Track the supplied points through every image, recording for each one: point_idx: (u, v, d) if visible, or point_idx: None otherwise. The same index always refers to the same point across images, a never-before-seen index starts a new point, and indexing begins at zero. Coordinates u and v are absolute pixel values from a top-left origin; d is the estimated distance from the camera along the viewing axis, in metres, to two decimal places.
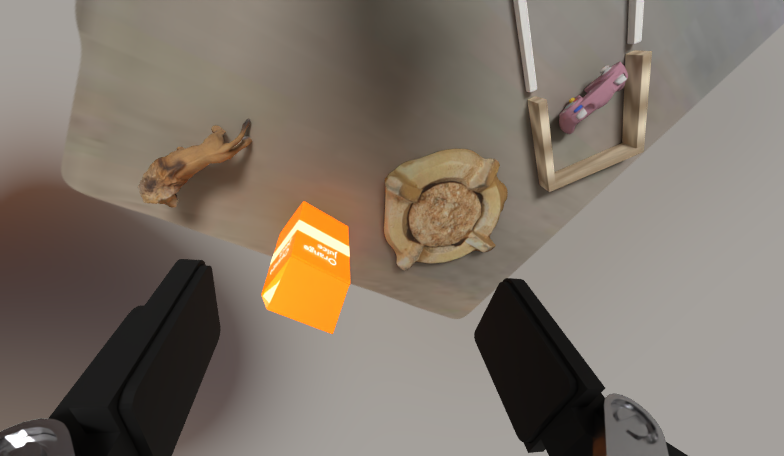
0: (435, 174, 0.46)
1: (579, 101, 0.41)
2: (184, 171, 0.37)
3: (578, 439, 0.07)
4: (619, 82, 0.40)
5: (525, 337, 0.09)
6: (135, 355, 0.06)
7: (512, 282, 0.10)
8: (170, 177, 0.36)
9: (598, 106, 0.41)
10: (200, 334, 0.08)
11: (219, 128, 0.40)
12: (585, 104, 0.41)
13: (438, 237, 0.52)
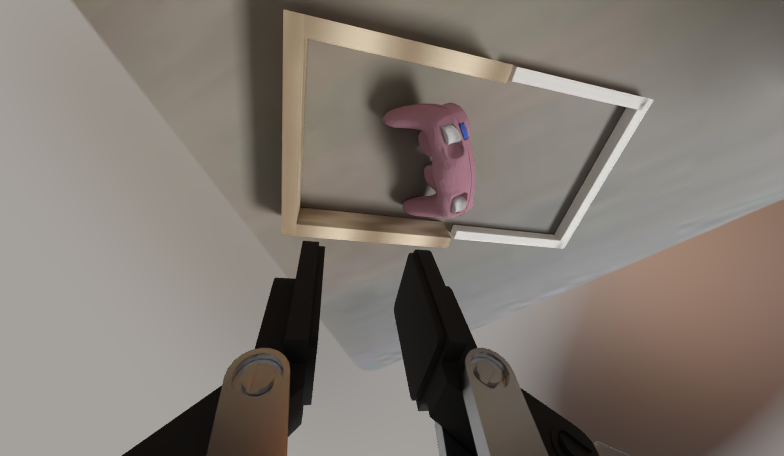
0: None
1: None
2: None
3: (443, 390, 0.07)
4: (456, 203, 0.24)
5: (418, 301, 0.09)
6: (308, 308, 0.07)
7: (418, 252, 0.10)
8: None
9: (448, 165, 0.22)
10: None
11: None
12: (465, 144, 0.21)
13: None
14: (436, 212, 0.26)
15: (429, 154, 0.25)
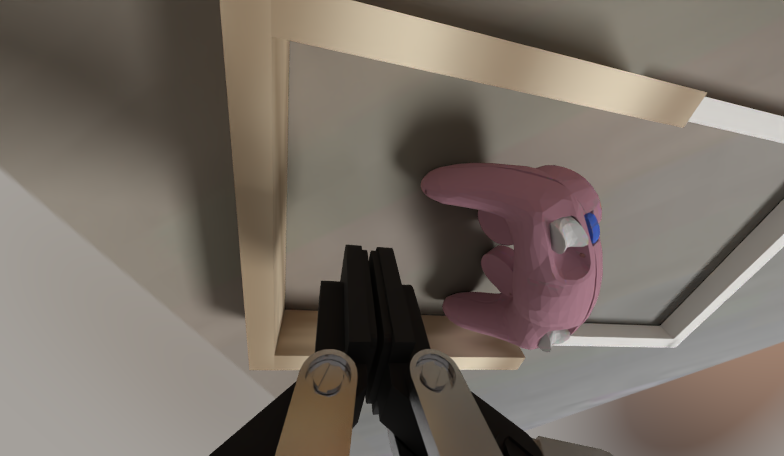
0: None
1: None
2: None
3: (390, 393, 0.07)
4: (552, 338, 0.13)
5: (374, 300, 0.09)
6: (364, 310, 0.08)
7: (379, 250, 0.10)
8: None
9: (555, 290, 0.11)
10: None
11: None
12: (594, 253, 0.11)
13: None
14: (507, 336, 0.15)
15: (498, 240, 0.15)
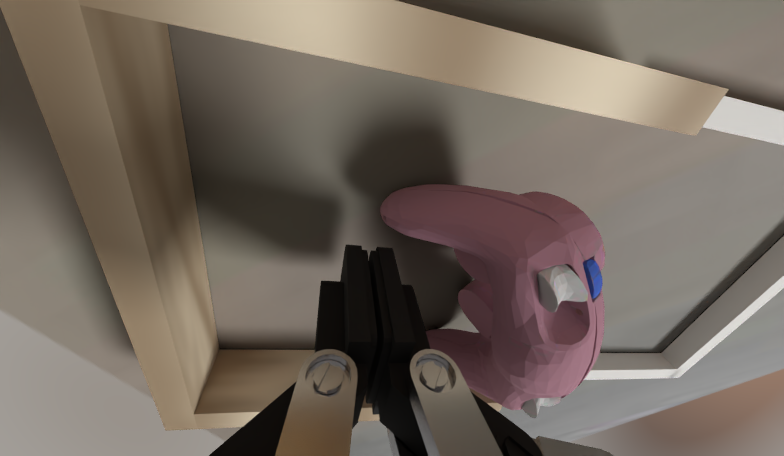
0: None
1: None
2: None
3: (389, 393, 0.07)
4: (539, 402, 0.11)
5: (374, 300, 0.09)
6: (364, 310, 0.08)
7: (379, 250, 0.10)
8: None
9: (543, 355, 0.08)
10: None
11: None
12: (594, 310, 0.08)
13: None
14: (485, 391, 0.13)
15: (476, 277, 0.12)
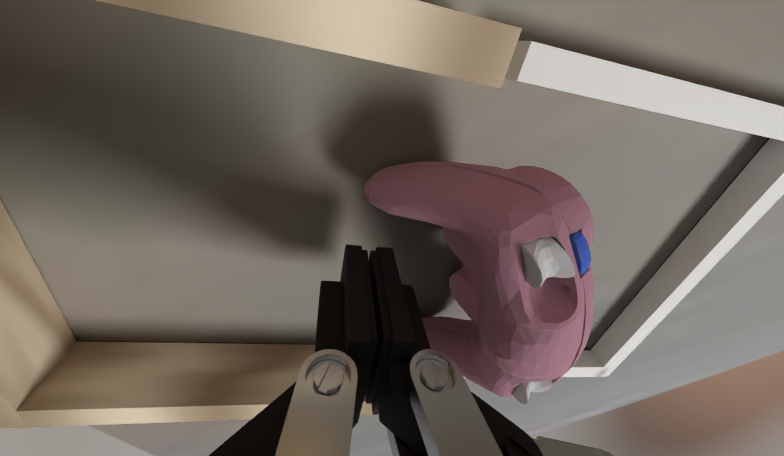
0: None
1: None
2: None
3: (389, 393, 0.07)
4: (529, 387, 0.10)
5: (374, 301, 0.09)
6: (364, 310, 0.08)
7: (378, 250, 0.10)
8: None
9: (529, 335, 0.08)
10: None
11: None
12: (582, 287, 0.08)
13: None
14: (476, 378, 0.12)
15: (465, 260, 0.12)
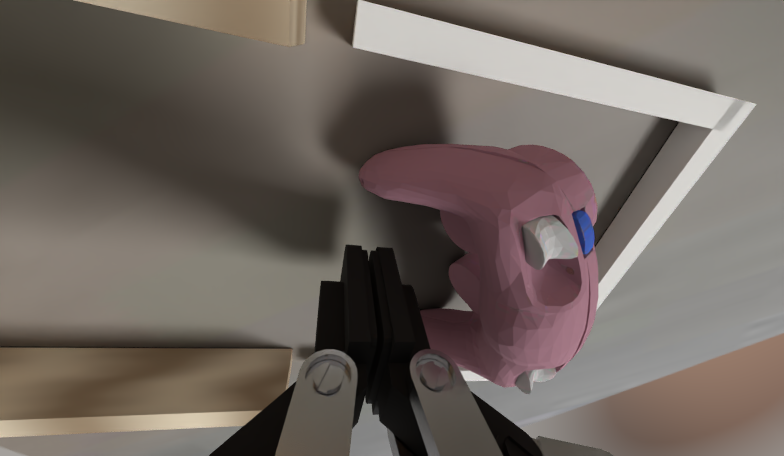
0: None
1: None
2: None
3: (390, 393, 0.07)
4: (532, 376, 0.10)
5: (374, 301, 0.09)
6: (364, 310, 0.08)
7: (379, 250, 0.10)
8: None
9: (532, 319, 0.08)
10: None
11: None
12: (586, 268, 0.07)
13: None
14: (477, 369, 0.12)
15: (465, 247, 0.11)
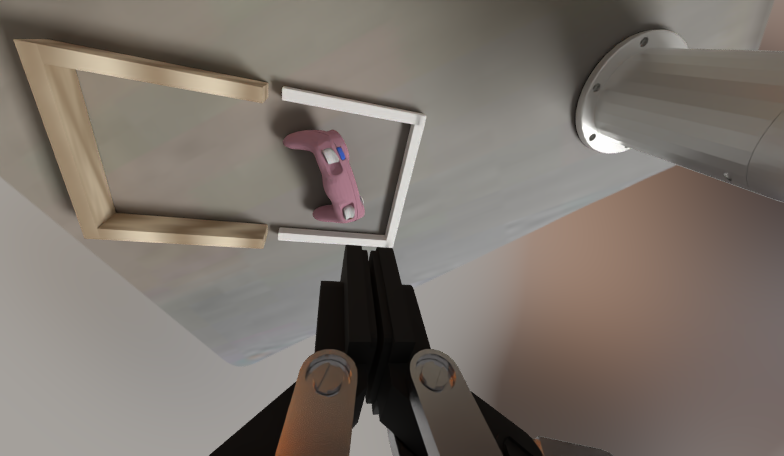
0: None
1: (347, 158, 0.27)
2: None
3: (389, 393, 0.07)
4: (346, 211, 0.29)
5: (374, 301, 0.09)
6: (364, 310, 0.08)
7: (379, 250, 0.10)
8: None
9: (330, 180, 0.27)
10: None
11: None
12: (343, 164, 0.26)
13: None
14: (335, 218, 0.31)
15: None
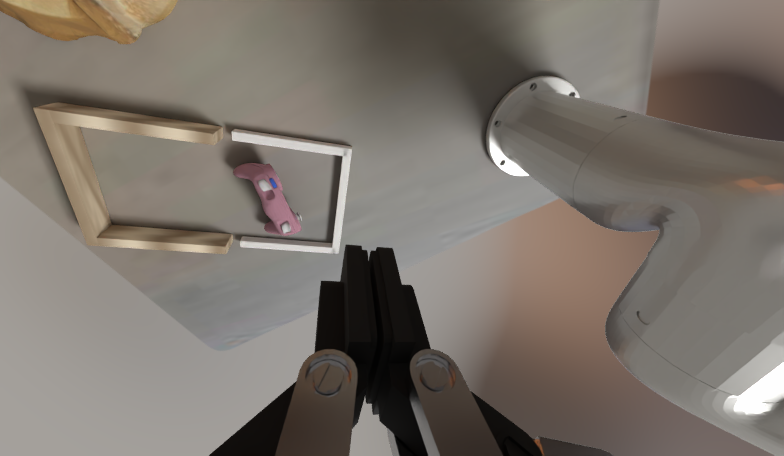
0: None
1: (280, 186, 0.34)
2: None
3: (390, 393, 0.07)
4: (283, 226, 0.36)
5: (374, 301, 0.09)
6: (364, 310, 0.08)
7: (379, 250, 0.10)
8: None
9: (266, 204, 0.34)
10: None
11: None
12: (275, 191, 0.34)
13: None
14: (277, 231, 0.38)
15: None
